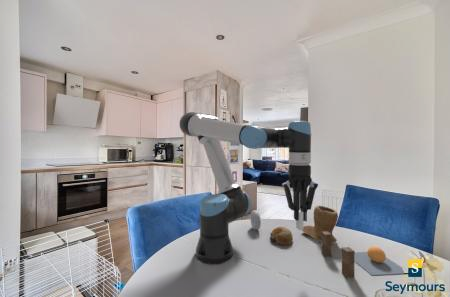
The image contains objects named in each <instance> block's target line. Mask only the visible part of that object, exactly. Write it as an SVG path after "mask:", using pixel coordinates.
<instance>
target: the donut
mask: <svg viewBox="0 0 450 297" xmlns="http://www.w3.org/2000/svg"><path fill="white" fill-rule="evenodd" d="M261 224H262V221H261V216H260V213H259V212H258V211H257V210H256V209H253V210H251V212H250V225H251V227H252V228H253V230H254V231H258V230H260V228H261Z"/></svg>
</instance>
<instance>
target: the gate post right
mask: <svg viewBox="0 0 450 297" xmlns="http://www.w3.org/2000/svg"><path fill="white" fill-rule="evenodd" d="M355 252H356V251H355V250H354V249H352V248H351V247H349V246H347V247H345V246H344V247H341V274H342V275H343V276H344V277H345V278H346V279H355V262H354V255H355Z"/></svg>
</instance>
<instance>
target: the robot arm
mask: <svg viewBox="0 0 450 297" xmlns="http://www.w3.org/2000/svg"><path fill="white" fill-rule="evenodd" d="M179 128H180V130H181V132H182V133H183V134H184V135H185V136H188V137H189V136H190V137H194V138H197V140H198V142H199V143H198V144H201V145H203V148H204V151H205V153H206V156H207V159H208V162H209V164H210V165H209V166H210V168H211V170H212V174H213V177H214V179H215V182H216V186H217V189H218V192H217V193H213V194H209V195H206V196H204V197H202V199H201V200H200V202H199V209H198V210H199V238H198V241H197V245H196V248H195V257H196V259H197V260H198V261H200V262H201V263H204V264H207V265H220V264H224V263H227V262H228V261H230V260H231V258H232V257H233V255H234V248H233V243H232V240H231V238H230V235H229V224H231V223H233V222H235V221H236V220H239V219H242V218H243V217H245V216H246V215H248V214H249V212H250V210H251V208H252V201H251V198H250V195H249V194H248V193H247V192H245V191H243V189H242V188H241V185H240V184H237V183H236V180H235V178H234V176H233V173H232V169H231V166H230V164H229V162H228V159H227V156H226V154H225V150H224V148H223V145H222V143H221V141H224V142H229V143H232V144H237V145H242V146H243V147H245V148H248V149H253V150H256V149H278V148H279V149H281V148H285V149H286V148H288V163H289V165H288V178H287V180H286V181H285V182H281V187H282V188H283V189H284V193H285V197H286V202H287V207H288V209H290V210H291V211H293V219H294V220H295V228H296V229H297V230H298V231H302V230H303V227H304V221H305V220H306V217H307V216H306V213H308V210H312V207H313V206H312V205H313V202H314V198H315V194H316V190H317V188H318V186H319V184H318V183H316V182H315V181H313V179H312V177H311V175H312V166H311V165H310V164H311V163H312V147H311V146H312V145H311V144H312V131H311V123H310V122H309V121H306V120H295V121H290V122H289V123H288V127H281V128H280V127H279V128H277V127H276V128H271V127H264V126H259V125H251V124H245V123H240V122H239V123H238V122H232V121H225V120H220V119H219V118H218V117H217V116H215V115H212V114H209V113H208V114H205V113H200V112H193V111H190V112H187V113H185V114H183V115H182V116H181V118H180V119H179ZM291 188H292V192H291ZM292 195H293V196H292Z"/></svg>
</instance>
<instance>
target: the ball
mask: <svg viewBox="0 0 450 297" xmlns="http://www.w3.org/2000/svg"><path fill="white" fill-rule="evenodd" d="M366 252H367V253H368V256H369V258H370V259H371V260H372V261H374V262H376V263H382V262H384V261H385V259H386V258H387V256H386V254H385V253H386V252H384V250H383V249H382V248H380V247H378V246H370V247H369V248H368V249H367V251H366Z"/></svg>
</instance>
